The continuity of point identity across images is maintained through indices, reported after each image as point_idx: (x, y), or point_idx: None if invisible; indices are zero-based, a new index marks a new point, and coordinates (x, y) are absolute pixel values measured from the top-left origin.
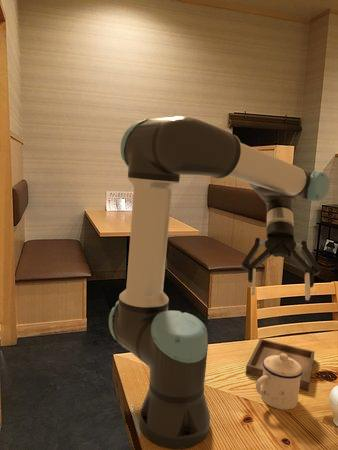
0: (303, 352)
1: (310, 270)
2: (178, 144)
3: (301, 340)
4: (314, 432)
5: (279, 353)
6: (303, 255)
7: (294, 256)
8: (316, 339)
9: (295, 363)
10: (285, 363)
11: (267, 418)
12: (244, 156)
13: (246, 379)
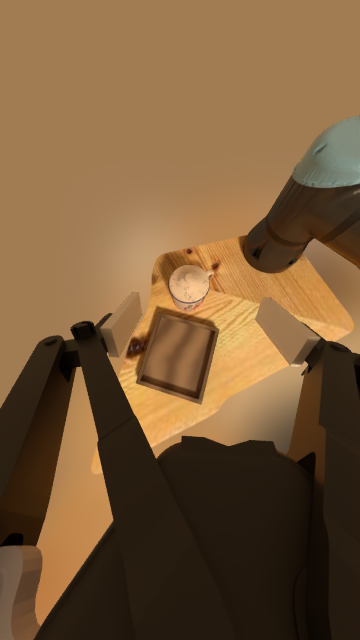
0: (149, 382)
1: (88, 334)
2: None
3: None
4: (167, 264)
5: (178, 378)
6: (49, 483)
7: (129, 406)
8: None
9: (175, 282)
10: (187, 271)
11: None
12: None
13: (216, 320)
